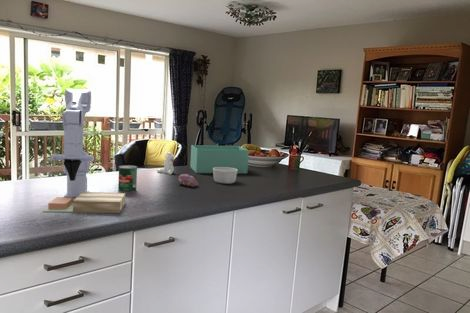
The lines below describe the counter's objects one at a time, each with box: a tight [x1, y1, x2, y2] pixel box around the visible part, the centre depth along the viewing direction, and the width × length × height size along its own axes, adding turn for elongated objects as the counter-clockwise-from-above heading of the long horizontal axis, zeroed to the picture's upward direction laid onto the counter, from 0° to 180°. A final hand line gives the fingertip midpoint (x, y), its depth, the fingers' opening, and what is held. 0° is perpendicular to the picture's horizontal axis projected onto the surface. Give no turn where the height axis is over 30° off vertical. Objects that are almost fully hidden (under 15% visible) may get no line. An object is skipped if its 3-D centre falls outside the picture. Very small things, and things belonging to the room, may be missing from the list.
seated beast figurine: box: [156, 151, 176, 175], centre depth 223 cm, size 10×9×12 cm
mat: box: [42, 203, 74, 213], centre depth 142 cm, size 15×10×1 cm, turn 8°
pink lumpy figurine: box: [177, 173, 199, 187], centre depth 192 cm, size 10×5×7 cm, turn 59°
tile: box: [47, 196, 74, 209], centre depth 142 cm, size 9×6×2 cm, turn 8°
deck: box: [72, 191, 126, 214], centre depth 144 cm, size 14×16×4 cm
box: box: [189, 144, 250, 174], centre depth 242 cm, size 21×32×14 cm, turn 106°
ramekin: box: [212, 167, 238, 184], centre depth 207 cm, size 13×13×7 cm
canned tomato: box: [117, 164, 138, 194], centre depth 172 cm, size 8×8×11 cm
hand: (72, 180), depth 142 cm, fingers closed
